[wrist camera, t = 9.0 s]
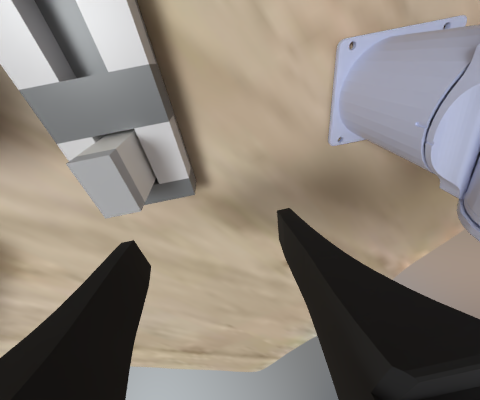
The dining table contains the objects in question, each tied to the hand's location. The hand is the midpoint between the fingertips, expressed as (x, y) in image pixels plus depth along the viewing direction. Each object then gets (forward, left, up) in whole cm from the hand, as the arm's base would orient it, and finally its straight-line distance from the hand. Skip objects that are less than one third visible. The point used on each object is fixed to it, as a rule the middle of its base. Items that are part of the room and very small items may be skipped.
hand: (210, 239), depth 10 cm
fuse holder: (+6, -6, -10) cm, 13 cm away
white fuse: (+6, -2, -10) cm, 12 cm away
